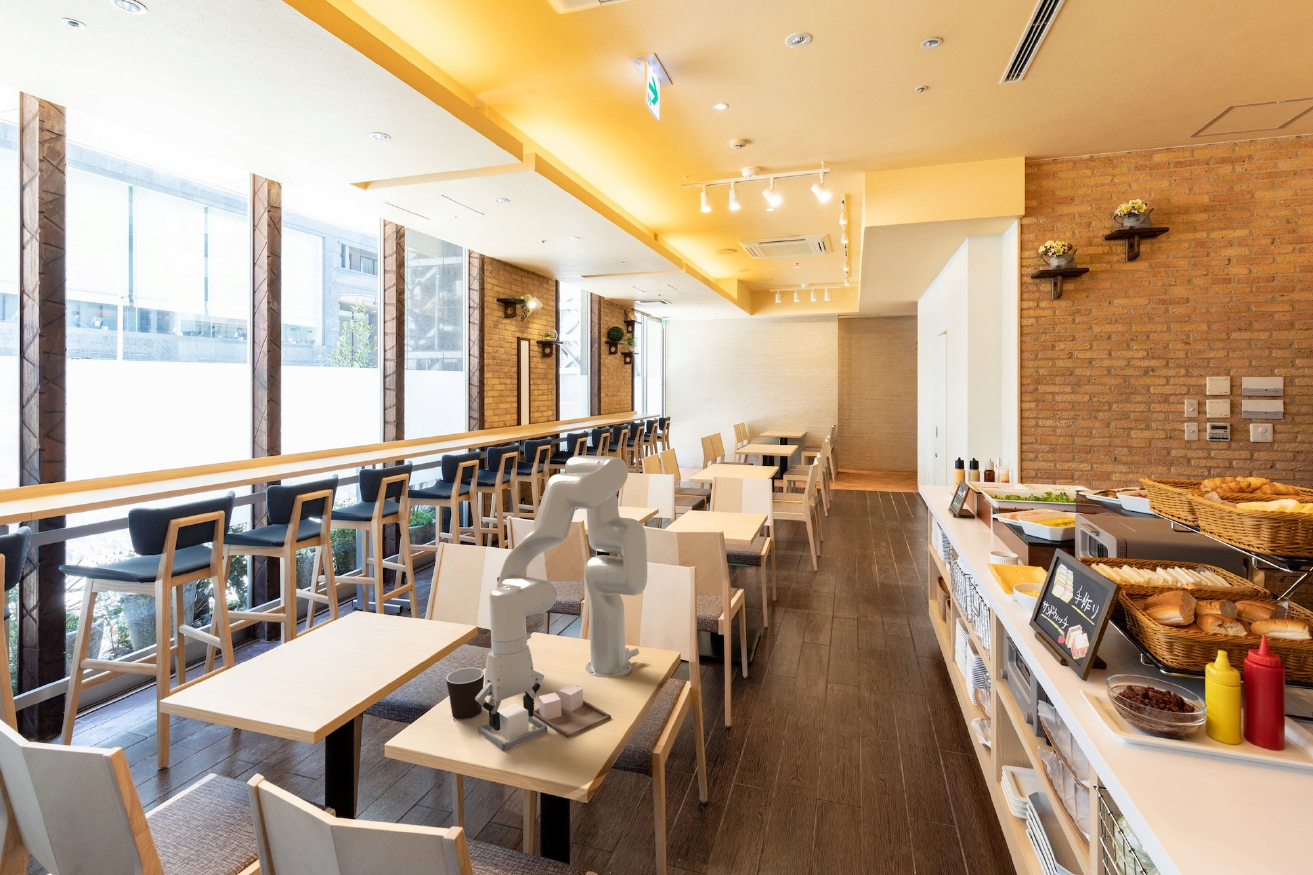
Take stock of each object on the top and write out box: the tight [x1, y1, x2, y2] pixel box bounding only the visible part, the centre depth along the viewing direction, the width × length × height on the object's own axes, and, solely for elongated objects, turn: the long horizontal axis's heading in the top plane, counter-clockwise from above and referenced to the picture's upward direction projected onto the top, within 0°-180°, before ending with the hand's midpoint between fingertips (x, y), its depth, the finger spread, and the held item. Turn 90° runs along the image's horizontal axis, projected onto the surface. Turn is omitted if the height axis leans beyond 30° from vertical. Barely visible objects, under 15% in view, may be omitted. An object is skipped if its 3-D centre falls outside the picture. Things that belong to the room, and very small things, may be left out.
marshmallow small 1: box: [558, 684, 584, 711], centre depth 152 cm, size 4×4×4 cm
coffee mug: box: [445, 667, 485, 722], centre depth 152 cm, size 12×9×10 cm
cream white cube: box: [496, 702, 530, 741], centre depth 141 cm, size 5×5×5 cm
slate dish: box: [477, 716, 548, 752], centre depth 141 cm, size 11×11×2 cm
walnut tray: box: [533, 699, 612, 739], centre depth 147 cm, size 12×15×2 cm
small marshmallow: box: [538, 692, 561, 720], centre depth 148 cm, size 4×4×4 cm
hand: (512, 721), depth 141 cm, fingers open, 7 cm apart
